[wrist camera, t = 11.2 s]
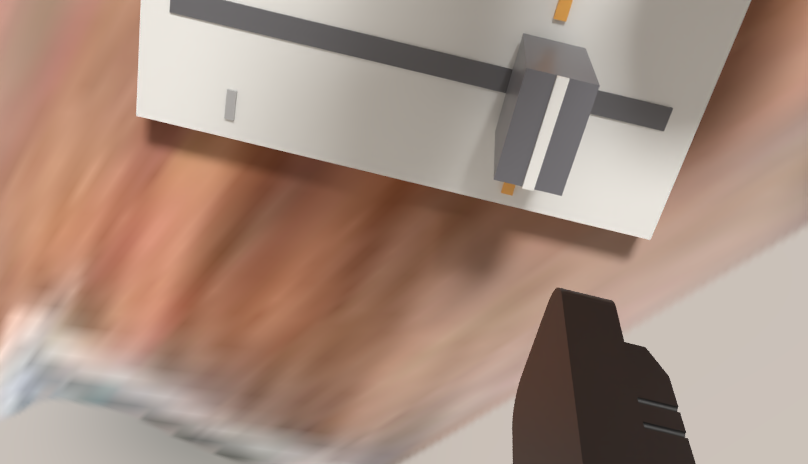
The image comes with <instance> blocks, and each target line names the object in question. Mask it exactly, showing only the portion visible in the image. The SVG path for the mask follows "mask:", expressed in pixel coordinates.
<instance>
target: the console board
mask: <svg viewBox="0 0 808 464" xmlns="http://www.w3.org/2000/svg"><path fill="white" fill-rule="evenodd" d="M750 2H751V0H141V11H140V35H139V60H138V85H137V110H136V116H139V117H144V118H148V119H152V120H156V121H160V122H164V123H168V124H173V125H177V126H181V127H185V128H189V129H193V130H197V131H202V132H206V133H210V134H214V135H218V136H222V137H226V138H230V139H235V140H239V141H243V142H247V143H251V144H255V145H259V146H264V147H268V148H272V149H276V150H280V151H284V152H288V153H292V154H297V155H301V156H305V157H309V158H313V159H317V160H321V161H326V162H330V163H334V164H338V165H342V166H346V167H350V168H355V169H359V170H363V171H367V172H371V173H375V174H379V175H383V176H388V177H392V178H396V179H400V180H404V181H408V182H412V183H417V184H421V185H425V186H429V187H433V188H437V189H441V190H445V191H450V192H454V193H458V194H462V195H466V196H470V197H474V198H479V199H483V200H487V201H491V202H495V203H499V204H503V205H508V206H512V207H516V208H520V209H524V210H528V211H532V212H536V213H541V214H545V215H549V216H553V217H557V218H561V219H565V220H570V221H574V222H578V223H582V224H586V225H590V226H594V227H598V228H603V229H607V230H611V231H615V232H619V233H623V234H627V235H632V236H636V237H640V238H644V239H648V240H650V239H651V237H652V235H653V232H654V230H655V228H656V225H657V223H658V220H659V218H660V216H661V213H662V211H663V209H664V206H665V204H666V202H667V199H668V197H669V194H670V192H671V190H672V187H673V185H674V183H675V180H676V178H677V175H678V173H679V171H680V168H681V166H682V164H683V161H684V159H685V156H686V154H687V152H688V149H689V147H690V145H691V142H692V140H693V137H694V135H695V133H696V130H697V128H698V126H699V123H700V121H701V119H702V116H703V114H704V111H705V109H706V107H707V104H708V102H709V100H710V97H711V95H712V92H713V90H714V88H715V85H716V83H717V81H718V78H719V76H720V73H721V71H722V69H723V66H724V64H725V62H726V59H727V57H728V54H729V52H730V50H731V47H732V45H733V43H734V40H735V38H736V36H737V33H738V31H739V28H740V26H741V24H742V21H743V19H744V17H745V14H746V12H747V9H748V7H749V5H750ZM523 33H525V34H529V35H533V36H537V37H541V38H545V39H549V40H554V41H558V42H562V43H566V44H570V45H574V46H579V47H583V48H586V51H587V53H588V56H589V58H590V61H591V64H592V66H593V69H594V71H595V74H596V77H597V79H598V82H599V85H600V87H599V90H598V92H597V95H596V98H595V101H594V104H593V107H592V110H591V113H590V116H589V118H588V121H587V124H586V127H585V130H584V133H583V136H582V139H581V142H580V145H579V147H578V150H577V153H576V156H575V159H574V162H573V165H572V168H571V171H570V173H569V176H568V179H567V182H566V185H565V188H564V191H563V194H562V196H559V195H555V194H551V193H547V192H543V191H539V190H534V191H531V190H527V189H522V186H518V185H514V184H510V183H505V182H501V181H497V180H494V150H495V130H496V127H497V123H498V120H499V116H500V112H501V109H502V105H503V102H504V98H505V95H506V91H507V88H508V84H509V81H510V77H511V74H512V70H513V67H514V63H515V60H516V56H517V53H518V49H519V46H520V42H521V39H522V35H523Z"/></svg>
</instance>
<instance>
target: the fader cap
mask: <svg viewBox="0 0 808 464" xmlns="http://www.w3.org/2000/svg"><path fill="white" fill-rule="evenodd" d="M599 87H600V85H599V82H598V79H597V77H596V74H595V71H594V69H593V66H592V64H591V61H590V58H589V56H588V53H587V51H586V48H583V47H579V46H574V45H570V44H566V43H562V42H558V41H554V40H549V39H545V38H541V37H537V36H533V35H529V34H525V33H523V35H522V39H521V42H520V46H519V49H518V53H517V56H516V60H515V63H514V67H513V70H512V74H511V77H510V81H509V84H508V88H507V91H506V95H505V98H504V102H503V105H502V109H501V112H500V116H499V120H498V123H497V127H496V130H495V150H494V180H497V181H501V182H505V183H510V184H514V185H518V186H522V189H527V190H531V191H534V190H539V191H543V192H547V193H551V194H555V195H559V196H562V194H563V191H564V188H565V185H566V182H567V179H568V176H569V173H570V171H571V168H572V165H573V162H574V159H575V156H576V153H577V150H578V147H579V145H580V142H581V139H582V136H583V133H584V130H585V127H586V124H587V121H588V118H589V116H590V113H591V110H592V107H593V104H594V101H595V98H596V95H597V92H598V90H599Z"/></svg>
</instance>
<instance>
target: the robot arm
mask: <svg viewBox="0 0 808 464" xmlns="http://www.w3.org/2000/svg"><path fill="white" fill-rule="evenodd" d="M677 409H678V405H677V401H676V398H675V395H674V391H673V388H672V385H671V381H670V378H669V376H668V375H667V374H666V372H665V371H664V370H663V369H662V367H661V366H660V365H659V364H658V362H657V361H656V360H655V359H654V357H653V356H652V355H651V354H650V353H649V351H648V350H647V349H646V348H645V347H642V346H638V345H634V344H630V343H626V342H624V339H623V335H622V331H621V327H620V322H619V318H618V314H617V310H616V306H615V303H614V302H613V301H612V300H608V299H604V298H599V297H595V296H591V295H587V294H583V293H579V292H575V291H571V290H566V289H562V288H556V289H555V290H554V292H553V293H552V295H551V297H550V299H549V302H548V305H547V307H546V310H545V313H544V316H543V318H542V321H541V324H540V327H539V329H538V332H537V335H536V338H535V340H534V343H533V346H532V349H531V351H530V354H529V357H528V360H527V362H526V365H525V368H524V371H523V373H522V376H521V379H520V382H519V386H518V390H517V394H516V399H515V404H514V412H513V422H512V423H513V424H512V431H513V432H512V434H513V464H695V460H694V457H693V454H692V450H691V447H690V444H689V441H688V439H687V438H685V433H686V431H685V428H684V424H683V421H682V418H681V414H680V413H679V412H677Z"/></svg>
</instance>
